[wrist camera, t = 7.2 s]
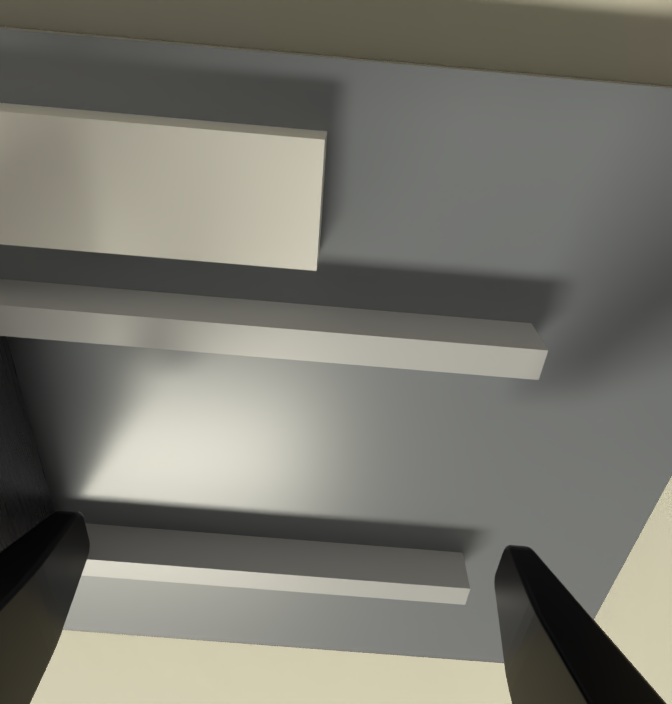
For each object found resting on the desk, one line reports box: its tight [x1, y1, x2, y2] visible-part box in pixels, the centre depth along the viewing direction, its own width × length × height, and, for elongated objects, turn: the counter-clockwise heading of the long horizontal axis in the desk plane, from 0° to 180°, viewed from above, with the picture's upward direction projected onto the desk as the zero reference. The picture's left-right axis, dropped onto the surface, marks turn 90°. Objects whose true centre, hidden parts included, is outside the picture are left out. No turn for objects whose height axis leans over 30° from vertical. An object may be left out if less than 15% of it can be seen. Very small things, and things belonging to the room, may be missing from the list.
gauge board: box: [0, 26, 672, 663], centre depth 10 cm, size 24×15×5 cm, turn 86°
